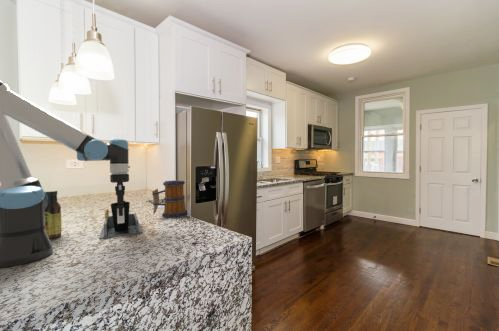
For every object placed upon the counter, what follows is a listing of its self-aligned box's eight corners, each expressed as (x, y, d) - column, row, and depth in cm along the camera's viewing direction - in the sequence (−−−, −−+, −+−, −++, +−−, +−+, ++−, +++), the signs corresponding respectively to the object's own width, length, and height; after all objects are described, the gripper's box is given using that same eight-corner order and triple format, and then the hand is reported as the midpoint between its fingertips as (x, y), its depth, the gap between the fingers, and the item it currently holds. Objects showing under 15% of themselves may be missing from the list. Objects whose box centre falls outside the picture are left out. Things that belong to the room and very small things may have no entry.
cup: (115, 233, 104) (113, 205, 103) (109, 229, 109) (108, 203, 108) (133, 228, 109) (132, 202, 109) (127, 225, 115) (126, 201, 114)
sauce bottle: (41, 237, 102) (40, 191, 102) (60, 233, 106) (58, 189, 106) (44, 240, 97) (42, 192, 97) (63, 236, 102) (61, 190, 102)
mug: (155, 221, 126) (153, 183, 125) (150, 216, 138) (149, 181, 138) (191, 216, 136) (190, 181, 135) (184, 211, 148) (183, 179, 148)
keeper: (142, 232, 105) (141, 212, 105) (99, 239, 97) (98, 217, 97) (139, 223, 121) (138, 206, 121) (102, 228, 113) (101, 209, 113)
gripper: (129, 174, 100) (131, 224, 100) (128, 172, 121) (129, 214, 122) (109, 174, 96) (110, 227, 96) (111, 173, 118) (112, 215, 118)
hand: (120, 220), depth 109 cm, fingers open, 13 cm apart
